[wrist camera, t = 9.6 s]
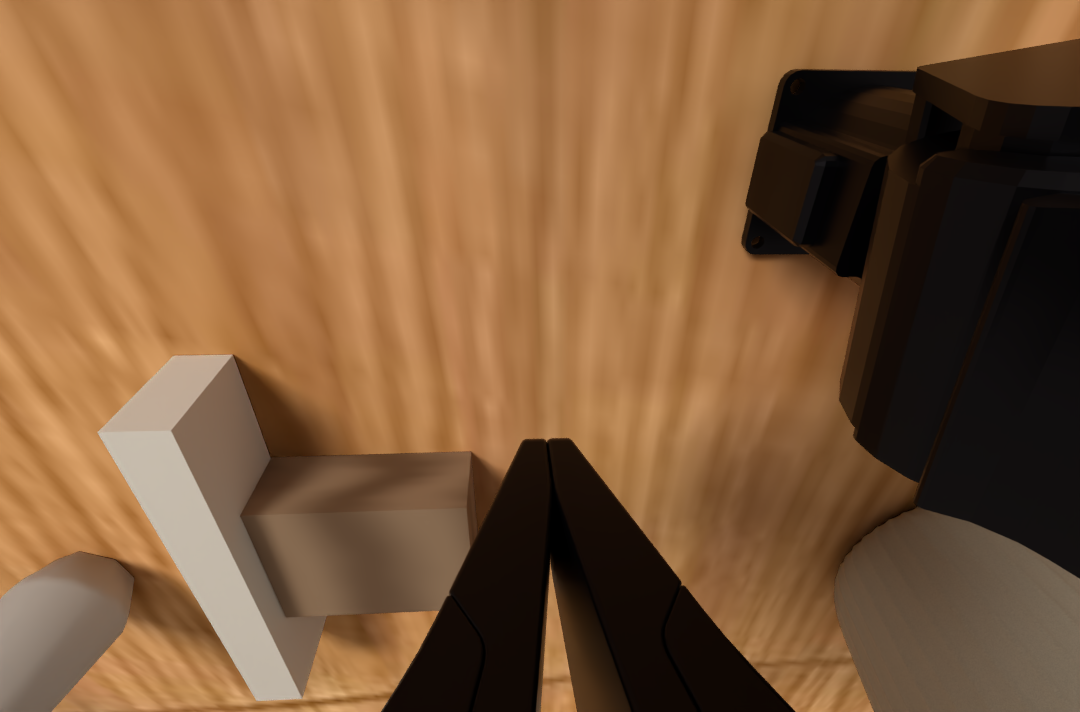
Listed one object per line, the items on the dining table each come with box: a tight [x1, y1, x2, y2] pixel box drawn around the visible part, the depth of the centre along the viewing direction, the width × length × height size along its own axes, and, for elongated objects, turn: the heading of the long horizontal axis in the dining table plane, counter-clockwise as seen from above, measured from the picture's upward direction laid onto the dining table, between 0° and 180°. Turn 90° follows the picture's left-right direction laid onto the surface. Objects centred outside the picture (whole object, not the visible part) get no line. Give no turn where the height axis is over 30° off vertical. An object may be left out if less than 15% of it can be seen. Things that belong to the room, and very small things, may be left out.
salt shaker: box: [0, 552, 134, 712], centre depth 25 cm, size 6×6×13 cm
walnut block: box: [240, 451, 478, 617], centre depth 27 cm, size 10×8×4 cm
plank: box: [98, 355, 327, 701], centre depth 26 cm, size 2×20×5 cm, turn 179°
